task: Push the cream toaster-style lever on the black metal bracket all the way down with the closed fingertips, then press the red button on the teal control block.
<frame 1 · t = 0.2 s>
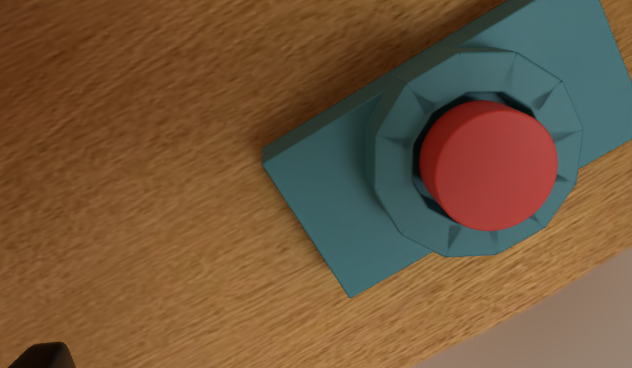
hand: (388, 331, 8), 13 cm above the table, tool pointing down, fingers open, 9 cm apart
button: (485, 164, 17), point 5 cm above the table, slide at 0.2 cm
button block: (440, 132, 21), on the table
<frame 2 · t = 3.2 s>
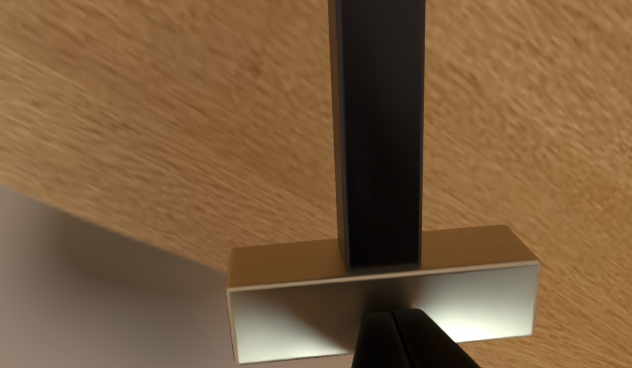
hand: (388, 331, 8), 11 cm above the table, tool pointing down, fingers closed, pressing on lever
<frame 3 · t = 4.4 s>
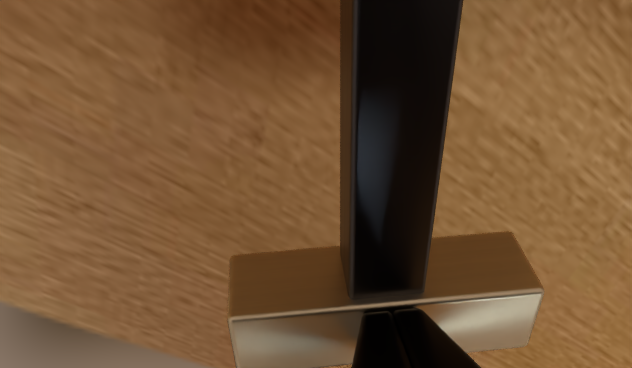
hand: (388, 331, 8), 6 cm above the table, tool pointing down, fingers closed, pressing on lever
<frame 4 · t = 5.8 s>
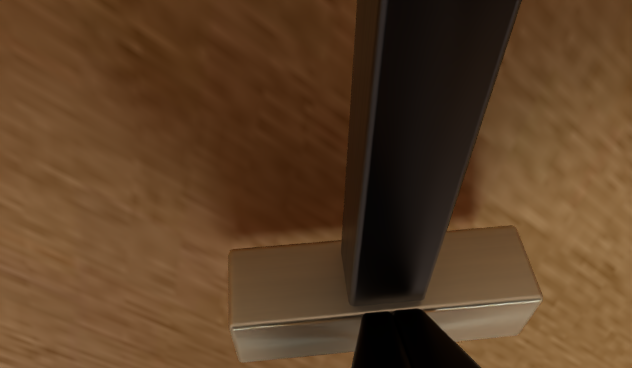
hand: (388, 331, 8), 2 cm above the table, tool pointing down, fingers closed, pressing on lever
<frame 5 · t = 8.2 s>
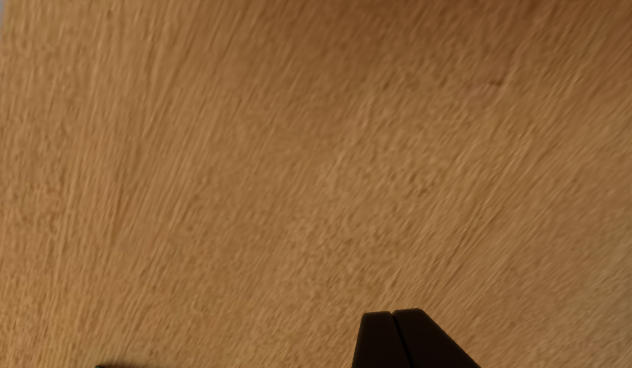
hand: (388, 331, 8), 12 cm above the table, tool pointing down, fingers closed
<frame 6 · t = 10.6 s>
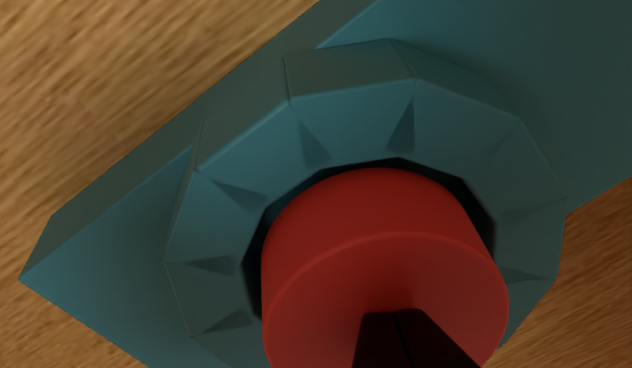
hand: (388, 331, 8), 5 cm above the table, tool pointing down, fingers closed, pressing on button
button: (376, 292, 9), point 5 cm above the table, slide at 0.1 cm, touching gripper
button block: (339, 154, 13), on the table
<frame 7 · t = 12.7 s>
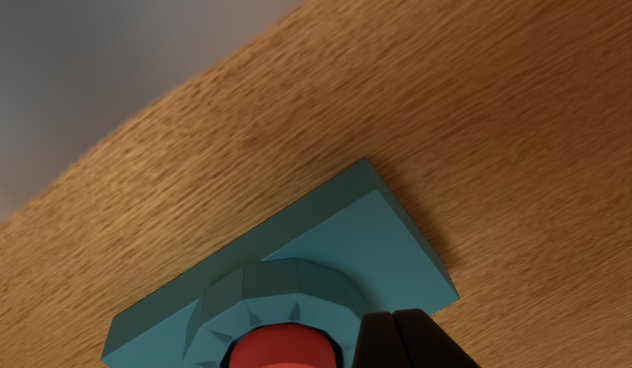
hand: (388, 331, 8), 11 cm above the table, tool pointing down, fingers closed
button block: (278, 289, 22), on the table
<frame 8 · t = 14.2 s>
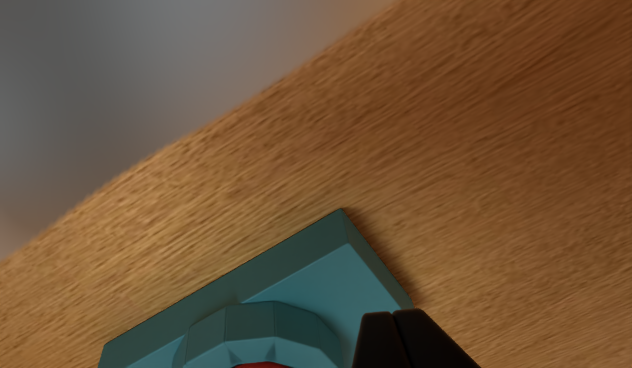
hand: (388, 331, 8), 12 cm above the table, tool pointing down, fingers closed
button block: (258, 321, 24), on the table
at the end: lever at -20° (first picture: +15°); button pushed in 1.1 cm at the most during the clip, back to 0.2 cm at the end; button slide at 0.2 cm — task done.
